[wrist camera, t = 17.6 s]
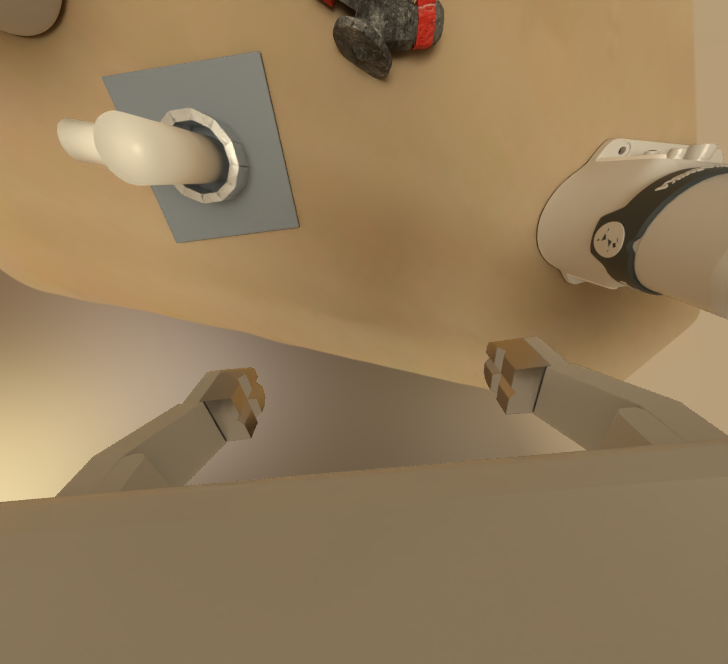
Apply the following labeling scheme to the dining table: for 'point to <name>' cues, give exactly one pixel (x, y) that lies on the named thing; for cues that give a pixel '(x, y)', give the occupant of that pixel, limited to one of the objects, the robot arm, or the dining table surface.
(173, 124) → the collar
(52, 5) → the cylinder vase
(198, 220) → the slate plate
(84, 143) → the cream peg
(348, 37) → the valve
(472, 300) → the dining table surface
